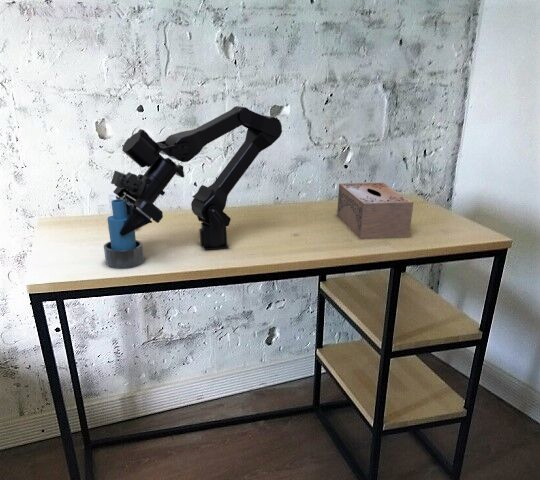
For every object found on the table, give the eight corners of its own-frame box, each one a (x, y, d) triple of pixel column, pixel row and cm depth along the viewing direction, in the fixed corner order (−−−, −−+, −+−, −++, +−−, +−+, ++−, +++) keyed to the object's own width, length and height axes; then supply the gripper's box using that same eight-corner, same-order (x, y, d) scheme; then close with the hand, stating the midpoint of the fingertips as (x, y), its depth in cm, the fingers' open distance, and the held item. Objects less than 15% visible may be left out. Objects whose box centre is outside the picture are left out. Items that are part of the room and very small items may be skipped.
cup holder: (142, 254, 144) (140, 237, 142) (145, 266, 136) (143, 249, 134) (105, 257, 142) (103, 240, 140) (106, 270, 134) (104, 252, 132)
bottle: (131, 251, 142) (125, 196, 136) (141, 258, 138) (135, 201, 132) (108, 256, 139) (101, 200, 133) (118, 263, 135) (111, 205, 129)
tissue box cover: (337, 214, 181) (339, 183, 177) (379, 213, 183) (382, 182, 179) (360, 238, 159) (363, 203, 154) (409, 236, 161) (413, 202, 156)
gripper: (116, 152, 137) (78, 202, 137) (144, 164, 123) (102, 220, 123) (150, 181, 144) (113, 229, 144) (180, 195, 130) (140, 249, 130)
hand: (116, 231), depth 135 cm, fingers closed on bottle, 6 cm apart
